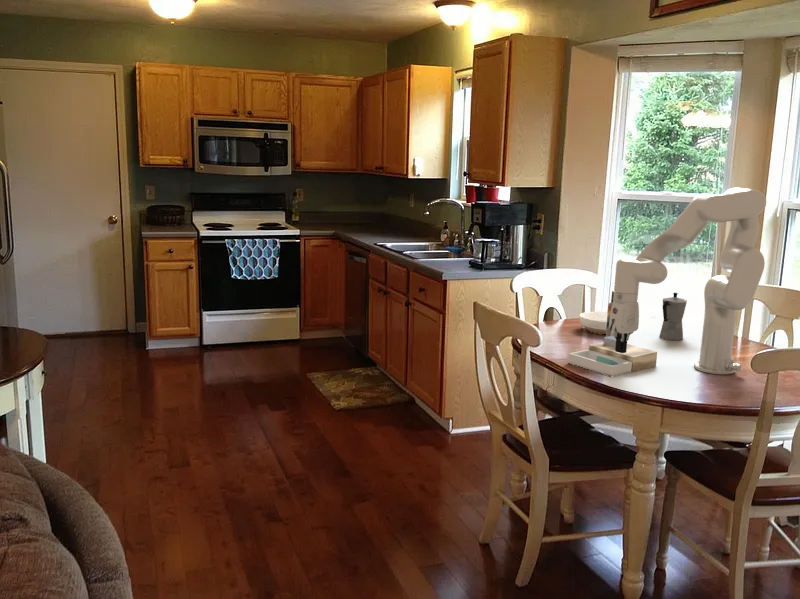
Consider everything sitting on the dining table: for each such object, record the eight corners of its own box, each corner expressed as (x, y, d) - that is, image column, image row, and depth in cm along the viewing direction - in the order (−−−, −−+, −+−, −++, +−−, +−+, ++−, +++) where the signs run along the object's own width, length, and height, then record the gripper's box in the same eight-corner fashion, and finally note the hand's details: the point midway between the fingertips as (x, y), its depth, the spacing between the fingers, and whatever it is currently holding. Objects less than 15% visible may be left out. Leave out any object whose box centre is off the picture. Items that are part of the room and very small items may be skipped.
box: (631, 372, 239) (632, 361, 239) (611, 377, 234) (612, 366, 233) (587, 359, 254) (588, 349, 253) (567, 363, 248) (568, 353, 247)
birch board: (655, 366, 247) (657, 351, 246) (632, 371, 240) (633, 357, 239) (612, 353, 261) (613, 340, 260) (588, 359, 254) (589, 345, 253)
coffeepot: (667, 333, 296) (672, 289, 292) (690, 337, 289) (695, 292, 285) (648, 338, 285) (653, 293, 282) (672, 343, 278) (676, 297, 275)
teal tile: (609, 359, 236) (607, 366, 236) (618, 363, 239) (615, 370, 239) (597, 355, 240) (594, 363, 239) (605, 359, 243) (603, 366, 243)
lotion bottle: (619, 341, 280) (623, 289, 276) (622, 345, 274) (626, 292, 270) (604, 340, 280) (608, 289, 276) (606, 344, 275) (611, 291, 271)
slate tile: (624, 345, 253) (625, 338, 253) (615, 347, 250) (615, 340, 250) (612, 342, 257) (613, 335, 257) (603, 344, 254) (603, 337, 254)
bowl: (600, 339, 283) (601, 323, 281) (568, 328, 300) (569, 313, 299) (639, 335, 291) (640, 320, 290) (605, 324, 308) (607, 310, 307)
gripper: (620, 301, 231) (615, 357, 234) (649, 297, 240) (644, 351, 243) (601, 297, 237) (596, 352, 240) (630, 293, 245) (625, 346, 249)
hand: (620, 352), depth 242 cm, fingers closed
